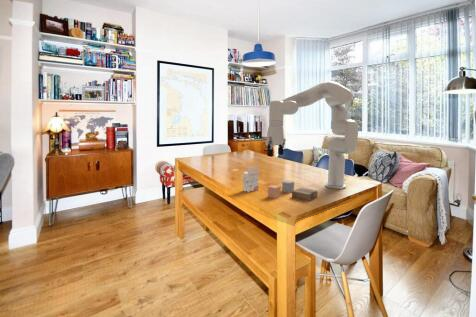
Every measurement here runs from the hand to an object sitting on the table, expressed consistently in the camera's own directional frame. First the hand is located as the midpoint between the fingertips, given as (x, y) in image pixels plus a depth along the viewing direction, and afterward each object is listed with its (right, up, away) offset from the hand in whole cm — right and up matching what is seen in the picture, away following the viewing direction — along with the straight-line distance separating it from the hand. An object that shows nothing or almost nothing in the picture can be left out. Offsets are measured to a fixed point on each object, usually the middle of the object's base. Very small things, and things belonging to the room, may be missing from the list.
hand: (275, 155), depth 139 cm
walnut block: (+17, -24, +3) cm, 29 cm away
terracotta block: (0, -23, +4) cm, 24 cm away
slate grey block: (+10, -22, +14) cm, 28 cm away
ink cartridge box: (-13, -22, +17) cm, 30 cm away
